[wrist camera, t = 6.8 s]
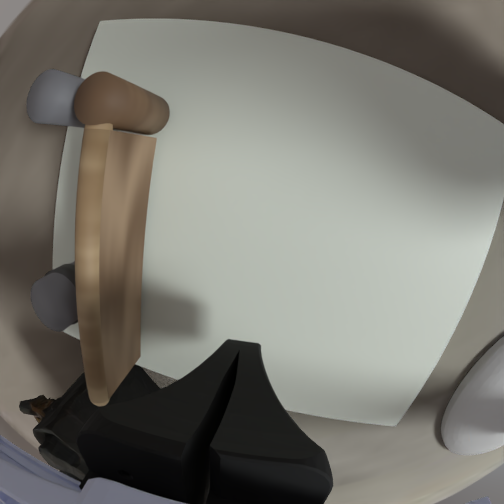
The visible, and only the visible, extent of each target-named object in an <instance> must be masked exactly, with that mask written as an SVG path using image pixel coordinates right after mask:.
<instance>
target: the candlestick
mask: <svg viewBox="0 0 504 504" xmlns="http://www.w3.org/2000/svg"><path fill="white" fill-rule="evenodd" d="M441 436H442V439H443V441H444V444H445V446H446V447H447V448H448V449H449V450H450V451H451V452H453V453H455V454H459V455H477V454H482V453H486V452H489V451H492V450H494V449H497V448H499V447H501V446H503V445H504V336H503V337H502V338H501V339H499V340H498V341H497V342H496V343H495V344H494V345H493V346H492V347H491V348H490V349H489V350H488V351H487V352H486V353H485V354H484V355H483V356H482V357H481V358H480V359H479V360H478V362H477V363H476V364H475V365H474V366H473V367H472V369H471V370H470V371H469V372H468V374H467V375H466V376H465V378H464V379H463V380H462V382H461V383H460V385H459V386H458V388H457V389H456V391H455V392H454V394H453V396H452V398H451V399H450V401H449V403H448V405H447V408H446V410H445V413H444V415H443V419H442V423H441Z"/></svg>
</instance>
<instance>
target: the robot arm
mask: <svg viewBox="0 0 504 504" xmlns="http://www.w3.org/2000/svg"><path fill="white" fill-rule="evenodd" d="M76 442H77V445H78V448H79V450H80V453H81V455H82V457H83V459H84V461H85V463H86V465H87V467H88V469H89V471H88V472H87V474H86V476H85V477H84V479H83V480H82V482H79V481H77V480H75V479H73V478H71V477H69V476H67V475H65V474H63V473H61V472H60V471H58V470H56V469H54V468H52V467H50V466H49V465H47V464H45V463H43V462H41V461H40V460H38V459H36V458H35V457H33V456H31V455H30V454H28V453H27V452H25V451H23V450H22V449H20V448H19V447H17V446H16V445H14V444H13V443H11V442H10V441H8V440H7V439H5V438H4V437H2V436H1V435H0V504H324V502H325V500H326V499H327V497H328V495H329V494H330V492H331V490H332V487H333V478H332V472H331V468H330V465H329V461H328V459H327V456H326V453H325V451H324V450H323V449H322V448H321V447H320V446H318V445H317V444H316V443H315V442H314V441H312V440H311V439H310V438H309V437H308V436H307V435H306V434H305V433H304V432H303V431H302V430H301V429H300V428H299V427H298V426H297V424H296V423H295V422H294V421H293V419H292V418H291V417H290V416H289V415H288V413H287V412H286V410H285V409H284V407H283V406H282V404H281V403H280V401H279V399H278V397H277V396H276V394H275V392H274V390H273V388H272V385H271V383H270V381H269V378H268V376H267V373H266V370H265V367H264V363H263V359H262V354H261V345H260V344H259V343H254V342H246V341H239V340H232V339H227V340H226V341H225V342H224V343H223V344H222V345H221V346H220V347H219V348H218V349H217V350H216V351H215V352H214V353H213V354H212V355H211V356H209V357H208V358H207V359H206V360H205V361H204V362H203V363H201V364H200V365H199V366H198V367H196V368H195V369H194V370H192V371H191V372H190V373H188V374H187V375H185V376H184V377H182V378H181V379H179V380H178V381H176V382H174V383H172V384H171V385H169V386H167V387H165V388H162V389H160V390H158V391H156V392H153V393H151V394H148V395H146V396H143V397H140V398H137V399H133V400H130V401H126V402H122V403H117V404H112V405H106V406H100V407H99V408H98V409H97V410H96V411H95V412H94V413H93V414H92V415H91V417H90V418H89V419H88V420H87V422H86V423H85V425H84V426H83V427H82V429H81V430H80V431H79V433H78V434H77V437H76ZM209 488H210V490H209ZM208 492H209V493H208ZM207 496H208V497H207ZM465 504H491V502H490V499H489V497H488V496H485V497H483V498H480V499H477V500H474V501H470V502H467V503H465Z"/></svg>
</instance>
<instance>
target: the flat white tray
mask: <svg viewBox="0 0 504 504" xmlns="http://www.w3.org/2000/svg"><path fill="white" fill-rule="evenodd" d="M101 71H105V72H109V73H111V74H113V75H116V76H118V77H120V78H122V79H124V80H126V81H129V82H131V83H133V84H135V85H137V86H139V87H141V88H143V89H145V90H148V91H150V92H152V93H154V94H156V95H158V96H160V97H162V98H163V99H164V100H165V101H166V102H167V103H168V106H169V109H170V115H169V119H168V122H167V124H166V125H165V127H164V128H163V129H162V130H161V131H159V132H158V133H156V134H153V135H144V134H139V133H133V132H128V131H122V130H116V129H113V131H119V132H125V133H131V134H137V135H143V136H148V137H154V138H157V141H156V147H155V154H154V160H153V167H152V175H151V182H150V190H149V199H148V208H147V218H146V228H145V240H144V253H143V269H142V290H141V357H140V358H139V359H138V361H137V362H136V363H135V364H136V365H139V366H141V367H144V368H146V369H149V370H152V371H154V372H157V373H160V374H162V375H165V376H168V377H171V378H174V379H177V380H179V379H181V378H182V377H184V376H185V375H187V374H188V373H190V372H191V371H192V370H194V369H195V368H196V367H198V366H199V365H200V364H201V363H203V362H204V361H205V360H206V359H207V358H208V357H209V356H211V355H212V354H213V353H214V352H215V351H216V350H217V349H218V348H219V347H220V346H221V345H222V344H223V343H224V342H225V341H226V340H227V339H232V340H239V341H246V342H254V343H259V344H260V345H261V354H262V359H263V363H264V367H265V370H266V373H267V376H268V378H269V381H270V383H271V385H272V388H273V390H274V392H275V394H276V396H277V397H278V399H279V401H280V403H281V404H282V406H283V407H284V409H285V410H288V411H293V412H298V413H303V414H308V415H314V416H319V417H325V418H331V419H338V420H344V421H351V422H359V423H367V424H376V425H386V426H396V425H397V424H398V422H399V421H400V420H401V418H402V417H403V415H404V414H405V413H406V411H407V410H408V408H409V407H410V405H411V404H412V402H413V401H414V399H415V398H416V396H417V395H418V393H419V392H420V390H421V389H422V387H423V386H424V384H425V382H426V381H427V379H428V377H429V376H430V374H431V372H432V371H433V369H434V367H435V366H436V364H437V362H438V360H439V359H440V357H441V355H442V353H443V351H444V350H445V348H446V346H447V344H448V342H449V340H450V338H451V336H452V334H453V333H454V331H455V329H456V327H457V325H458V322H459V320H460V318H461V316H462V314H463V312H464V310H465V308H466V305H467V303H468V301H469V299H470V296H471V294H472V292H473V289H474V287H475V284H476V282H477V279H478V277H479V274H480V272H481V269H482V267H483V264H484V261H485V258H486V256H487V253H488V250H489V247H490V244H491V241H492V238H493V235H494V232H495V228H496V225H497V222H498V218H499V214H500V211H501V207H502V203H503V199H504V124H503V123H501V122H500V121H498V120H497V119H495V118H494V117H492V116H491V115H489V114H487V113H486V112H484V111H483V110H481V109H479V108H478V107H476V106H474V105H473V104H471V103H469V102H467V101H466V100H464V99H462V98H460V97H459V96H457V95H455V94H453V93H451V92H449V91H447V90H445V89H443V88H442V87H440V86H438V85H436V84H434V83H431V82H429V81H427V80H425V79H423V78H421V77H419V76H417V75H414V74H412V73H410V72H408V71H405V70H403V69H400V68H398V67H396V66H393V65H391V64H388V63H386V62H383V61H380V60H378V59H375V58H372V57H370V56H367V55H364V54H361V53H358V52H355V51H352V50H349V49H346V48H343V47H340V46H336V45H333V44H329V43H326V42H322V41H319V40H315V39H311V38H307V37H303V36H299V35H294V34H290V33H285V32H281V31H276V30H270V29H265V28H259V27H253V26H247V25H240V24H232V23H224V22H214V21H203V20H188V19H121V20H106V21H100V23H99V25H98V28H97V31H96V33H95V36H94V38H93V41H92V44H91V47H90V50H89V52H88V55H87V58H86V61H85V65H84V68H83V71H82V74H81V78H80V77H77V76H74V75H71V74H68V73H65V72H62V71H59V70H55V69H49V70H47V71H45V72H43V73H42V74H40V75H39V76H38V77H37V79H36V80H35V81H34V83H33V84H32V86H31V88H30V91H29V94H28V98H27V113H28V115H29V117H30V119H31V120H32V121H33V122H35V123H42V124H53V125H63V126H68V129H67V134H66V139H65V144H64V149H63V155H62V161H61V168H60V174H59V182H58V190H57V199H56V209H55V221H54V237H53V270H51V271H49V272H48V273H46V275H45V276H44V277H43V278H41V279H39V280H37V281H36V282H35V283H34V284H33V286H32V288H31V301H32V305H33V308H34V311H35V313H36V314H37V316H38V318H39V319H40V320H41V322H42V323H43V324H44V325H45V326H47V327H48V328H50V329H51V330H54V331H58V332H59V331H63V332H65V333H67V334H69V335H71V336H73V337H75V338H77V339H79V340H80V335H79V326H78V315H77V302H76V284H75V213H76V195H77V182H78V172H79V162H80V154H81V146H82V139H83V132H84V127H85V124H83V123H82V122H80V121H79V120H78V118H77V116H76V114H75V111H74V100H75V95H76V93H77V90H78V88H79V87H80V85H81V84H82V82H83V81H84V80H85V79H86V78H87V77H89V76H90V75H92V74H94V73H96V72H101Z"/></svg>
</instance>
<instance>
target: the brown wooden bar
mask: <svg viewBox="0 0 504 504" xmlns="http://www.w3.org/2000/svg"><path fill="white" fill-rule="evenodd" d="M74 111H75V114H76V116H77V118H78V120H79V121H80V122H82V123H83V124H85V127H84V132H83V139H82V146H81V154H80V162H79V172H78V182H77V195H76V213H75V284H76V302H77V315H78V326H79V335H80V344H81V351H82V359H83V365H84V372H85V378H86V384H87V389H88V394H89V398H90V401H91V402H92V403H93V404H94V405H96V406H105V405H106V404H107V403H108V402H109V399H110V397H111V396H112V394H113V393H114V392H115V390H116V389H117V388H118V386H119V385H120V384H121V382H122V381H123V379H124V378H125V377H126V375H127V374H128V373H129V371H130V370H131V369H132V367H133V366H134V365H135V363H136V362H137V361H138V359H139V358H140V357H141V290H142V269H143V253H144V240H145V228H146V218H147V208H148V199H149V190H150V182H151V175H152V167H153V160H154V154H155V147H156V141H157V138H154V137H148V136H143V135H137V134H131V133H125V132H119V131H113V129H116V130H122V131H128V132H133V133H139V134H144V135H153V134H156V133H158V132H159V131H161V130H162V129H163V128H164V127H165V125H166V124H167V122H168V119H169V115H170V109H169V106H168V103H167V102H166V101H165V100H164V99H163V98H162V97H160V96H158V95H156V94H154V93H152V92H150V91H148V90H145V89H143V88H141V87H139V86H137V85H135V84H133V83H131V82H129V81H126V80H124V79H122V78H120V77H118V76H116V75H113V74H111V73H109V72H105V71H101V72H96V73H94V74H92V75H90V76H89V77H87V78H86V79H85V80H84V81H83V82H82V84H81V85H80V87H79V88H78V90H77V93H76V95H75V100H74Z"/></svg>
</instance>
